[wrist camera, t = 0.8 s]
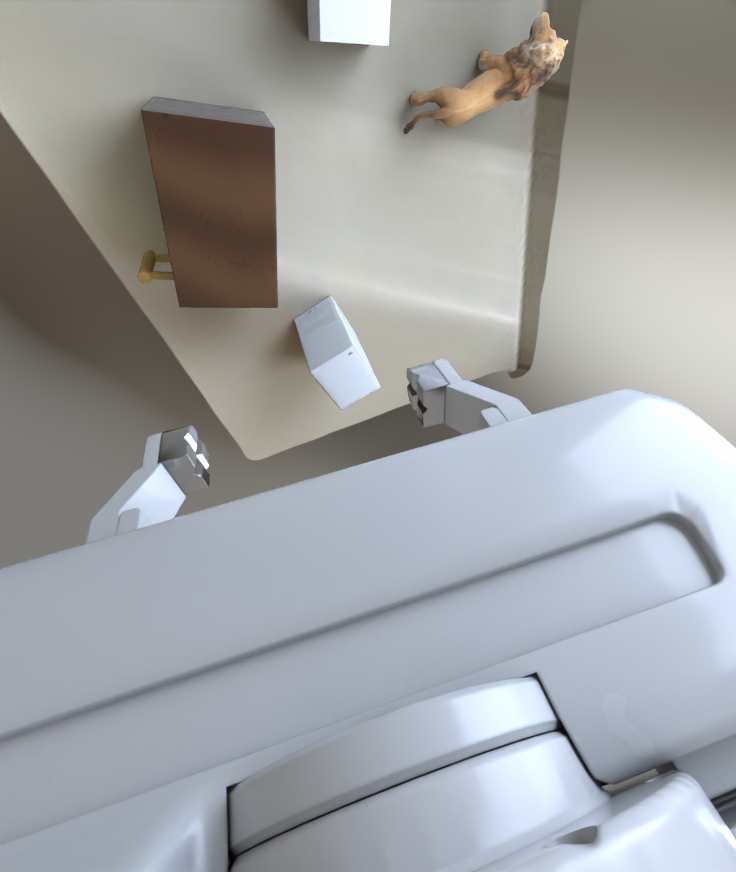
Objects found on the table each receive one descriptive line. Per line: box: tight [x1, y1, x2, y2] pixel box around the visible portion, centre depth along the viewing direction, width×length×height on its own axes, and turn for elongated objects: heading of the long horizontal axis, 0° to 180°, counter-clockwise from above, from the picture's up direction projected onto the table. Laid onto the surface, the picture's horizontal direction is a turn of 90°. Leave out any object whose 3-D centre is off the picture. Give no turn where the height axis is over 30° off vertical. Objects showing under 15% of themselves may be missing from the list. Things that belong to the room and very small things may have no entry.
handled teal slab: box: [137, 250, 174, 283], centre depth 41 cm, size 7×4×7 cm, turn 172°
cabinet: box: [141, 96, 278, 308], centre depth 40 cm, size 16×10×10 cm, turn 172°
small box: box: [294, 296, 380, 410], centre depth 54 cm, size 8×6×13 cm
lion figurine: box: [403, 12, 568, 134], centre depth 40 cm, size 15×5×9 cm, turn 120°
